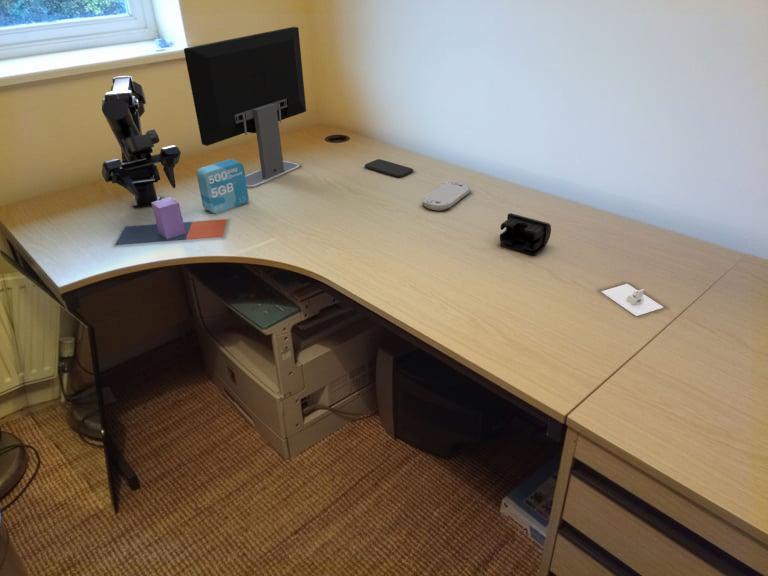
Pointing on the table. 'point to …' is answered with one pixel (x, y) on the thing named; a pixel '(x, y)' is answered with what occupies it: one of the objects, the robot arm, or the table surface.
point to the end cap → (524, 234)
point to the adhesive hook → (632, 299)
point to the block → (168, 217)
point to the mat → (192, 232)
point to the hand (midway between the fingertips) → (157, 192)
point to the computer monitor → (249, 92)
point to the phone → (389, 168)
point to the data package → (222, 185)
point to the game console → (446, 195)
